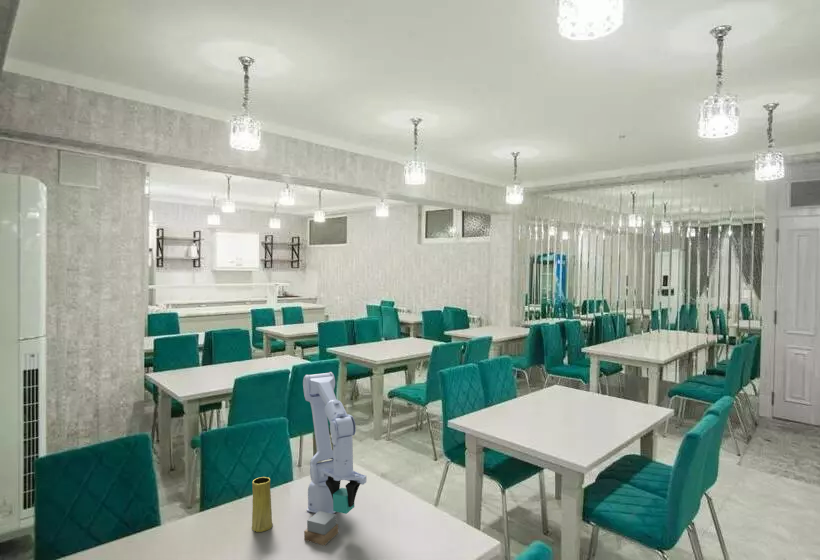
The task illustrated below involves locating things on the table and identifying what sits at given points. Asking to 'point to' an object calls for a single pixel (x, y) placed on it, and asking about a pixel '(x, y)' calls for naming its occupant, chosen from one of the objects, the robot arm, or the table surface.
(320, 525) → the slate slab
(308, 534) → the walnut slab
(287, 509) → the table surface
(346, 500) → the teal block
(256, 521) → the vase
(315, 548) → the table surface
